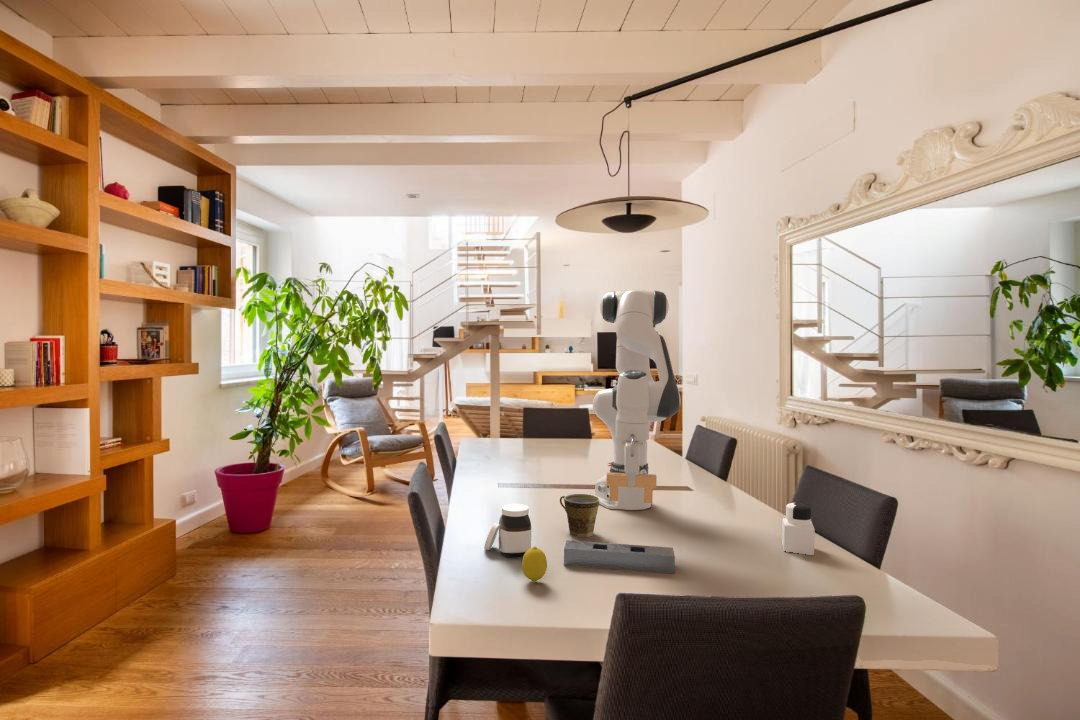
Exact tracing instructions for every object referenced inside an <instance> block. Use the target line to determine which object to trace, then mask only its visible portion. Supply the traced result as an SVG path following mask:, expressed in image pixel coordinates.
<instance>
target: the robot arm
mask: <svg viewBox="0 0 1080 720" xmlns="http://www.w3.org/2000/svg"><path fill="white" fill-rule="evenodd" d="M669 307H670V306H669V301H668V298H667V295H666V294H665V293H664V292H663V291H659V290H654V291H653V290H645V289H644V290H643V289H630V290H619V291H615V290H612V291H607V292H605V293H604V294H603V296H602V299H601V300H600V303H599V310H600V314H601V316H602V319H603V320H604V321H605V322H607V323H611V324H615V334H616V349H615V350H616V351H615V369H616V371H617V373H618V379H617V384H616V385H615V386H613V388H612V387H611V388H605V389H600V390H598V391H597V392H596V394H595V395H594V397H593V399H592V408H593V409H592V410H593V412H594V414H595V415H596V417H597V418H598V419H600V420H601V421H602V422H603V424H605V425H606V427H607V429H608V431H609V432H610V434H611V437H612V438H611V439H612V442H613V443H612V444H613V446H612V447H613V461H611V462H607V467H610V468H609V472H612V473H625V474H628V486H635V475H638V474H649V463H648V442H647V441H648V440H650V423H655V422H662V421H665V420H666V419H670V418H671V417H673V416H674V415H675V414H677V413H678V412H679V411H680V407H681V401H682V400H681V399H682V398H681V394H680V391H679V389H678V384H677V382H676V377H675V375H674V370H673V366H672V361H671V358H670V352H669V350H668V347H667V342H666V340H665V338H664V336H663V335H661V334H660V333H658V332H657V331H656V329H655V328H656V326H657V325H660V324H661V323H663V321H665V319H666V317H667V315H668V312H669V310H670V309H669ZM650 360H653V362H654V364H655V367H656V371H657V375H658V379H659V380H657V381H655V380H654V377H653V376H652V373H651V368H650ZM606 483H607V473H606V474H605V475H603V476H602V477H601V478H599V479H598V480H597V481H596V483H595V488H594V492H592V493H590V494H589V495H593V496H596V497H598V498H599V506H600V505H601V506H602V507H605V508H607V509H609V510H626V511H639V510H647V509H649V508H650V507H652V503H644V488H636V487H618V501H610V486H606Z"/></svg>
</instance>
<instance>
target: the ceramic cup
mask: <svg viewBox="0 0 1080 720" xmlns="http://www.w3.org/2000/svg"><path fill="white" fill-rule="evenodd" d="M562 501H563V502H564V503H563V502H562ZM559 504H560V505H561V507H562V508H563V509H564V511H565V513H566V517H567V523H568V531H569V532H568V533H569V534H570V536H573V537H576V538H588V537H592V536H593V534H594V530H595V524H596V519H597V516H598V515H597V514H598V511H599V506H600V504H599V498H598V497H596V496H593V495H590V494H586V493H573V494H567V495H562V496H560V498H559Z"/></svg>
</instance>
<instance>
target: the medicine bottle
mask: <svg viewBox="0 0 1080 720" xmlns="http://www.w3.org/2000/svg"><path fill="white" fill-rule="evenodd" d="M781 524H782V525H781V526H782V528H781V529H782V531H781V533H782V534H781V544H782V548H783V552H784V551H786V552H785V553H789V552H793V553H792V554H797V553H799V554H798V555H805V554H806V556H815V539H816V538H815V537H816V535H815V533H816V532H815V531H816V529H815V527H814V525H813V522H812V508H811V506H809V505H808V504H806V503H801V502H791V503H787V504H786V505H785V517H783V518H782V523H781Z"/></svg>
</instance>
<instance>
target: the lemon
mask: <svg viewBox="0 0 1080 720" xmlns="http://www.w3.org/2000/svg"><path fill="white" fill-rule="evenodd" d="M547 567H548V561H547V557H546V554H545V552H544V551H543V550H542V549H541V548H539V547H537V546H533V547H531V548H530V549H529V550H527V551H526V553H525V554H524V557H522V562H521V570H522V572H523V575H524V576H525V577H526V578H527V579H528V580H529V581H532V583H537V581H540V580H541V579H543V577H544V576H545V575H546V572H547V569H548V568H547Z"/></svg>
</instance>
